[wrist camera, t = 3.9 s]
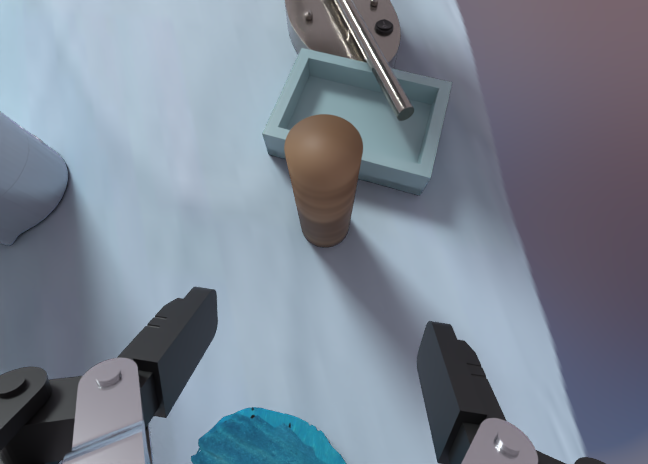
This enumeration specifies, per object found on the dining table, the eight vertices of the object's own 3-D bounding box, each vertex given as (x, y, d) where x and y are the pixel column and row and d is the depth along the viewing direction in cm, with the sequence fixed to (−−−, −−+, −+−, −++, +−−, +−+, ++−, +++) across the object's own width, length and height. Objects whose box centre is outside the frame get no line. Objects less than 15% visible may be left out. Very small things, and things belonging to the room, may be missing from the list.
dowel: (341, 253, 25) (350, 190, 15) (294, 239, 26) (272, 169, 15) (354, 210, 27) (371, 124, 16) (310, 197, 27) (299, 106, 17)
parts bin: (419, 195, 27) (430, 178, 24) (268, 154, 29) (262, 133, 26) (440, 106, 30) (452, 82, 27) (303, 74, 32) (301, 47, 29)
